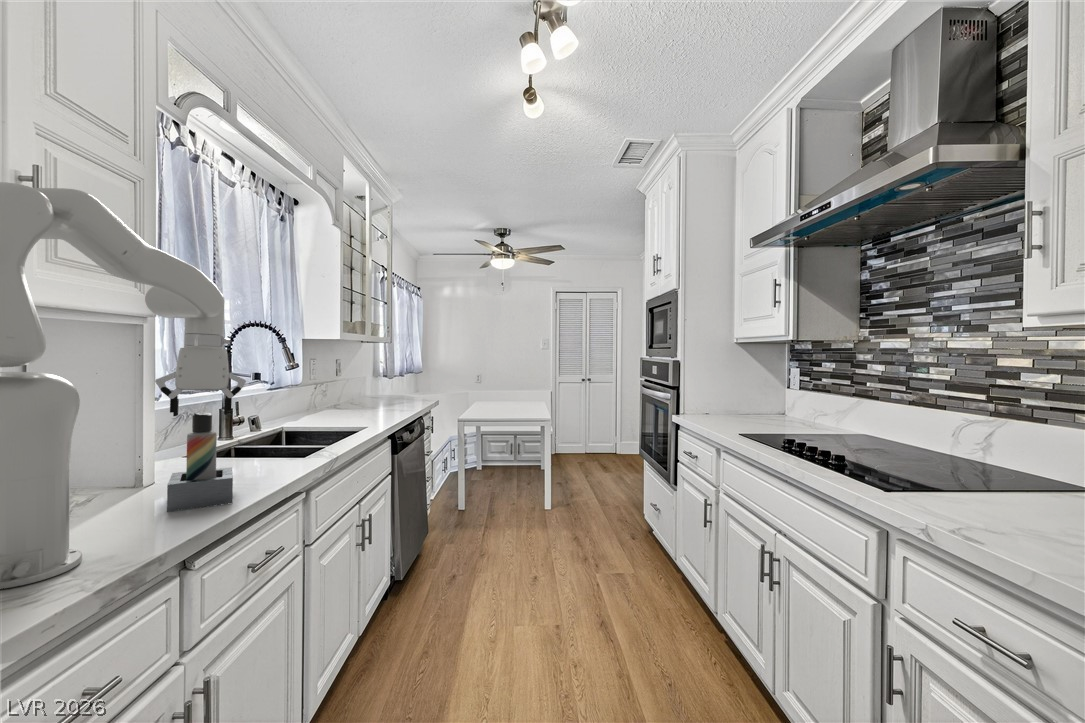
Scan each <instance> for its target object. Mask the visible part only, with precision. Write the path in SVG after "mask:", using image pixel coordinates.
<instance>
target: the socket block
mask: <svg viewBox="0 0 1085 723" xmlns="http://www.w3.org/2000/svg"><path fill="white" fill-rule="evenodd" d="M170 475H171V476H170V478H169V481H168V482H167V488H166V489H167V490H166V491H167V494H166V495H167V496H166V497H167V498H166V512H167V513H170V512H177V511H185V510H192V509H193V508H194V509H200V507H201V508H208V507H207V506H209V507H215V506H214V505H217V506H222V505H221V504H224V505H229V504H228V503H232V504H233V497H234V496H233V488H234V486H233V485H234V483H233V482H234V478H233V476H234V475H233V467H221V468H216V478H209V479H199V480H189V481H186V471H179V472H172V473H171V474H170Z"/></svg>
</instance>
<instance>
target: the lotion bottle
mask: <svg viewBox="0 0 1085 723" xmlns="http://www.w3.org/2000/svg"><path fill="white" fill-rule="evenodd" d="M191 418H192V421H191V422H192V427H191V428H192V429H191V430H192V431H191V432H189V433H187V434H186V470H185V472H186V481H189V480H199V479H209V478H216V469H217V443H218V442H217V440H218V439H217V436H218V435H217V432H216V431H213V414H212V413H209V412H199V411H198V412H197V411H196V412H194V413H193V415H192V417H191Z"/></svg>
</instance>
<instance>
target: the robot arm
mask: <svg viewBox="0 0 1085 723" xmlns="http://www.w3.org/2000/svg"><path fill="white" fill-rule="evenodd" d="M40 240H61V241H62V240H63V241H65V242H66V243H68V244H69V245H71V246H72V247H74V248H75V249H76V250H78V251H79V252H80V253H81V254H82V255H84V256H85V257H86V258H88V259H89V260H91V262H93V263H95V264H96V265H97V266H99V267H100V268H101V269H103V270H104V271H105V272H106V273H107V274H109V275H112V276H114V277H117V278H120V279H123V280H125V281H129V282H132V283H133V282H134V283H137V284H142V285H146V286H147V285H148V286H151V288H149V289H148V290H147V292H146V293H145V296H144V302H145V305H146V307H147V308H148V309H149V310H150V311H151V312H152V313H153V314H154V315H156V316H159V317H162V318H169V319H184V336H183V338H184V339H183V347H180V348H179V350H178V355H177V361H176V366H175V367H176V368H175V371H174V372H172V373H169V374H166V375H164V376H161V377H159V378H156V379H155V380H154V381H155V383H156V385H157V387H158V388H159V390H160V392H162V393H163V394H164V395H165V396H166V397H168V398H169V400H170V401H169V402H170V403H169V413H170V414H171V413H173V417H177V416H178V415H179V407H180V406H179V404H180V403H179V402H180V398H178V397H179V396H178V395H180V394H181V392H183V391H221V392H222V393H223V394H224V395H225V397H224V407H223V408H224V412H223V413H224V416H228V415H229V412H232V401H233V400H232V398H234V396H236V395H237V394H238V393H240V392H241V391H242V389H243V387H244V386H245V384H246V382H247V381H246V379H244V378H242V377H240V376H237V375H236V374H233V373H232V372H230V370H229V355H228V351H227V348H224V346H226V345H231V338H226V337H224V329H225V328H224V326H225V304H226V303H225V302H226V301H225V296H224V294H223V293H222V292H221V290H220V289H219V288H218V286H217V285H216V284H215V283H214V282H213V281H212V280H211V279H210V278H209V277H208V276H207V275H205V274H204V272H202V271H201V270H200V269H198V268H196V267H195V266H193V265H192V264H190V263H188V262H186V261H184V260H182V259H180V258H178V257H176V256H173V255H171V254H169V253H167V252H165V251H163V250H161V249H158V248H156V247H153V246H152V245H149V244H148V243H147V242H145V241H144V240H143V239H142V238H141V237H140V236H139V235H138V234H137V233H135V232H134V231H133V230H132V229H131V228H130V227H128V225H127V224H125V223H124V222H123V221H122V220H121V219H120V218H119V217H118V216H117V215H115V214H114V213H113V212H112V211H111V210H110V209H109V208H108V207H107V206H105V204H103V203H102V202H101V201H100V200H99V199H97V198H96V197H94V195H92V194H89V193H88V192H85V191H84V190H83V191H82V190H79V189H75V188H67V187H66V188H62V187H52V188H51V187H32V186H28V185H24V184H20V183H13V182H5V181H4V182H3V181H0V368H14V367H15V368H16V367H22V366H26V365H30V364H32V363H35V362H37V361H38V360H39V359H41V358H42V357H43V355H44V353H45V352H46V348H47V341H46V334H45V332H44V329H43V327H42V326H43V325H42V323H41V320H40V317H39V315H38V311H37V309H36V305H35V303H34V300H33V297H32V294H31V292H30V289H29V286H28V281H27V279H26V272H25V268H26V267H25V266H26V261H27V258H28V256H29V254H30V252H31V250H32V249H33V248H34V247H35V246H36V244H37V243H38V242H39V241H40ZM171 380H174V382H175V389H174V390H173V391H172V390H171V389H170V388H168V387H167V385H166V382H169V381H171ZM230 380H232V381H235V382H237V383H236V386H235V387H234V388H233V389H232V390H230V389H229V388H228V387H229V381H230ZM80 398H81V397H80V395H79V391H78V390H77V388H76V386H74V384H73V383H71V382H70V381H69V380H67V379H65V378H63V377H61V376H58V375H56V374H50V373H45V372H37V371H35V372H33V371H32V372H31V371H0V590H3V588H4V589H9V588H10V589H11V588H15V587H21V586H26V585H29V584H33V583H38V582H42V581H45V580H47V579H50V578H53V577H56V576H59V575H61V574H64V573H67V572H68V571H71V570H72V569H74V568H75V567H77V566H78V565H80V564H81V562H82V560H83V553H82V552H81V551H80V550H78V549H73V548H70V508H71V507H70V504H71V503H70V502H71V499H70V498H71V448H72V438H73V433H74V429H75V424H76V420H77V418H78V414H79V409H80V404H81V401H80V400H81V399H80Z"/></svg>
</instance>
